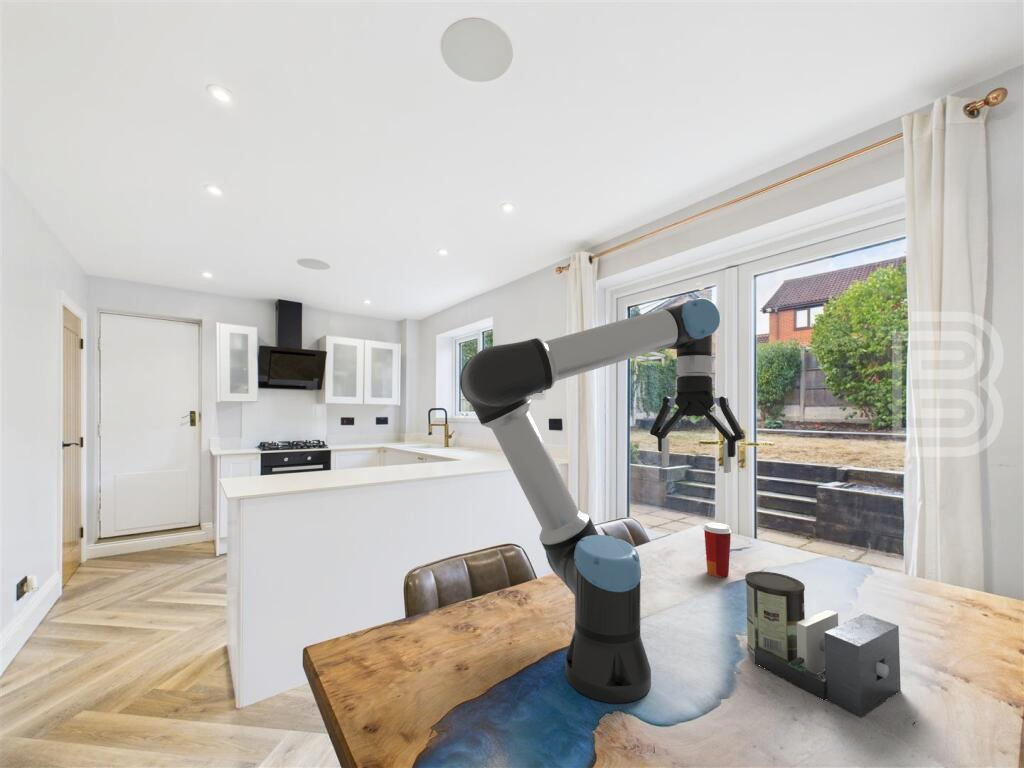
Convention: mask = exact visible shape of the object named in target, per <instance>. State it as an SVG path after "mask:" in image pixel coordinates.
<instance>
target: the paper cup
mask: <svg viewBox="0 0 1024 768" xmlns="http://www.w3.org/2000/svg"><path fill="white" fill-rule="evenodd" d="M702 530H703V531H704V544H705V560H706V569H707V574H708V575H709V576H712V577H715V576H716V577H715V578H727V576H728V577H729V573H730V571H729V570H730V552H731V535H732V534H731V533H732V529H731V526H730V525H728V524H727V523H726V524H725V523H720V522H706V523H705V524H704V525H703V527H702Z"/></svg>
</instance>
